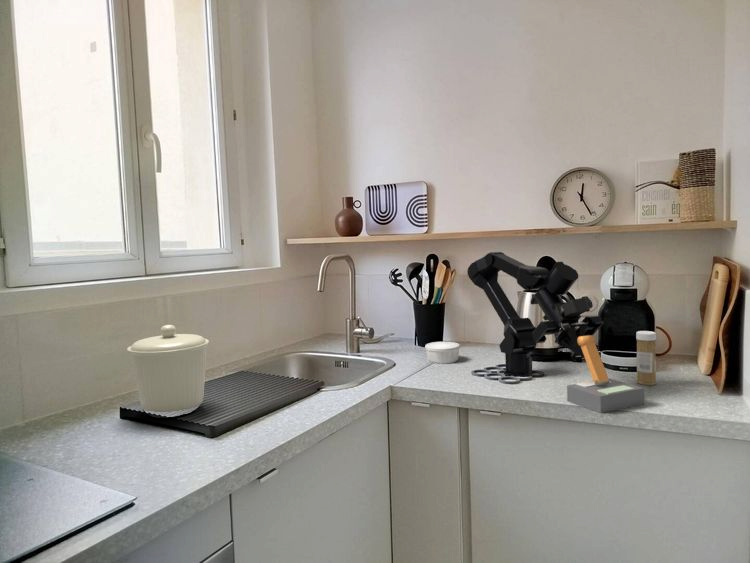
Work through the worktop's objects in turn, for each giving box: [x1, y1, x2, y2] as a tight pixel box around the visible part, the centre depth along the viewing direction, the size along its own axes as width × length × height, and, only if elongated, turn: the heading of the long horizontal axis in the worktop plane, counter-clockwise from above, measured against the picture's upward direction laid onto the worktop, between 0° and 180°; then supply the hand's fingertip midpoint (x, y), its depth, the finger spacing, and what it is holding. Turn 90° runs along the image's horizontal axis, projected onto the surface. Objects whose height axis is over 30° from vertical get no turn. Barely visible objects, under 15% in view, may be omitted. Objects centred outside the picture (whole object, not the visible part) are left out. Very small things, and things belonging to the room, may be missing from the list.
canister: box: [126, 324, 210, 412], centre depth 124 cm, size 18×18×21 cm
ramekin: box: [424, 341, 461, 365], centre depth 168 cm, size 11×11×5 cm
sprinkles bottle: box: [635, 330, 657, 386], centre depth 134 cm, size 5×5×14 cm
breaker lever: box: [577, 335, 609, 386], centre depth 122 cm, size 2×3×12 cm
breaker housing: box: [566, 377, 645, 414], centre depth 120 cm, size 10×13×4 cm
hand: (586, 357), depth 124 cm, fingers closed
